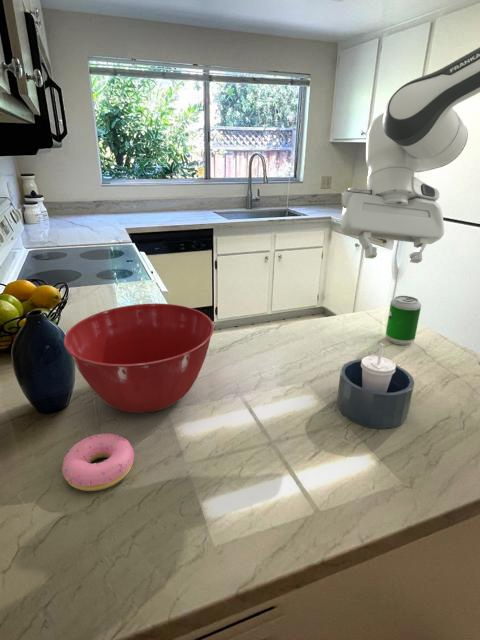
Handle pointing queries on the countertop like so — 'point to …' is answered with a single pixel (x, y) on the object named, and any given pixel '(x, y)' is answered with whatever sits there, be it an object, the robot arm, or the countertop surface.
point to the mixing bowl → (141, 353)
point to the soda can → (403, 320)
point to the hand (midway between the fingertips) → (393, 259)
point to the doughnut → (98, 474)
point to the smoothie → (377, 372)
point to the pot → (374, 398)
